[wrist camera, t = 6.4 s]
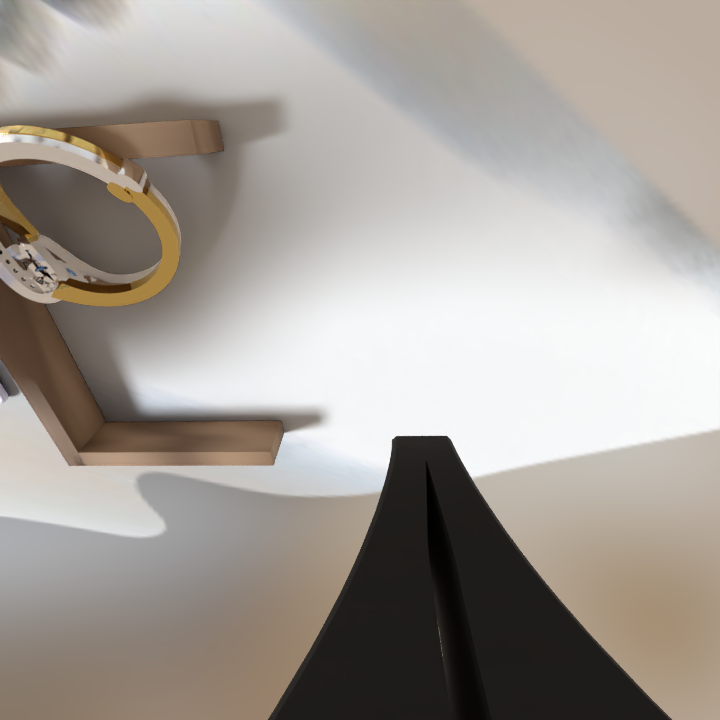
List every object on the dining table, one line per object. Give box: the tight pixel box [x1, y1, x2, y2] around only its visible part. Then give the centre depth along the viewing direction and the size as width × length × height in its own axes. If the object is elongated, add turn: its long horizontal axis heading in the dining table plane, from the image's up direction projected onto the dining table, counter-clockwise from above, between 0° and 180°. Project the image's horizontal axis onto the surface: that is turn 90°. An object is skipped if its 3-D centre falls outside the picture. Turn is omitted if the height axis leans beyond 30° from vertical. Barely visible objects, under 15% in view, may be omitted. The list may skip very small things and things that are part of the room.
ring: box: [0, 125, 181, 306], centre depth 15 cm, size 7×3×8 cm
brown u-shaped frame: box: [0, 120, 284, 466], centre depth 18 cm, size 12×16×2 cm
